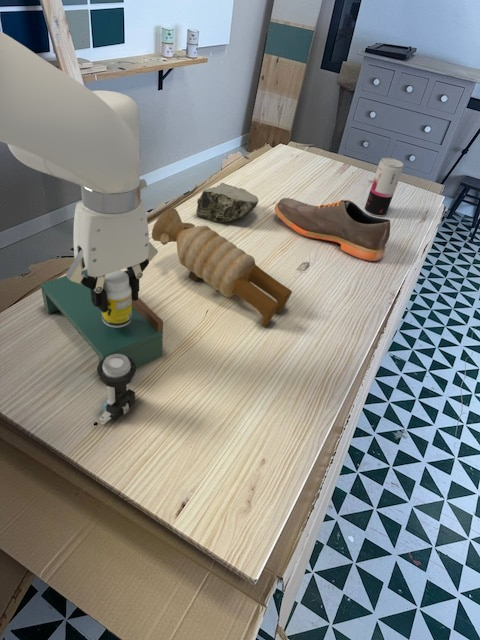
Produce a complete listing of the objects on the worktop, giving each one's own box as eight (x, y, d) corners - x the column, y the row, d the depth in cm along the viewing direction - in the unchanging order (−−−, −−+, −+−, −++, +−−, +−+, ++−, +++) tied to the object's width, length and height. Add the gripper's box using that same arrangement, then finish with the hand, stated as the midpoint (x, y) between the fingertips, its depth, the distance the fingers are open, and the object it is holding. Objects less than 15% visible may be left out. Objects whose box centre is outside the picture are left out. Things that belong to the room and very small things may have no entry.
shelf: (105, 382, 75) (102, 346, 70) (45, 309, 87) (38, 274, 81) (162, 355, 81) (163, 321, 76) (99, 290, 93) (96, 257, 88)
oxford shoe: (283, 208, 131) (291, 169, 124) (389, 249, 121) (404, 209, 114) (265, 222, 124) (272, 182, 116) (376, 267, 114) (391, 225, 106)
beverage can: (362, 212, 136) (378, 162, 127) (366, 204, 141) (382, 155, 131) (384, 219, 135) (402, 169, 125) (387, 210, 140) (405, 161, 130)
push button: (114, 434, 68) (111, 388, 62) (87, 417, 70) (81, 371, 63) (143, 405, 73) (143, 360, 66) (117, 389, 74) (114, 344, 68)
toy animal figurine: (279, 319, 99) (173, 243, 106) (301, 277, 91) (184, 198, 97) (255, 343, 92) (143, 260, 99) (276, 300, 84) (152, 213, 91)
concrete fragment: (209, 187, 130) (256, 168, 123) (221, 223, 132) (268, 207, 125) (183, 193, 117) (234, 172, 110) (197, 233, 120) (248, 215, 112)
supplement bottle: (97, 315, 76) (93, 272, 71) (123, 306, 79) (122, 264, 73) (110, 332, 73) (107, 289, 68) (137, 323, 76) (136, 280, 71)
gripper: (149, 172, 69) (148, 274, 81) (35, 195, 59) (53, 307, 71) (179, 193, 65) (174, 296, 77) (62, 221, 55) (77, 334, 67)
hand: (116, 300), depth 74 cm, fingers closed on supplement bottle, 4 cm apart
